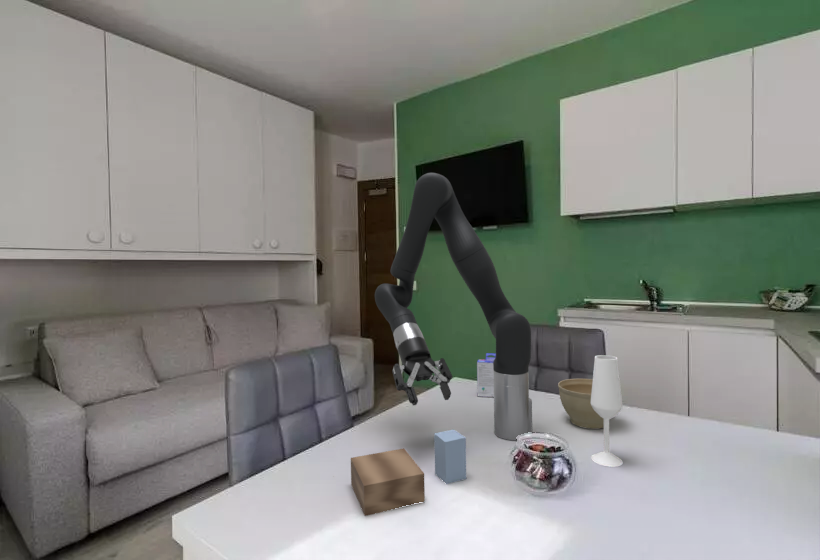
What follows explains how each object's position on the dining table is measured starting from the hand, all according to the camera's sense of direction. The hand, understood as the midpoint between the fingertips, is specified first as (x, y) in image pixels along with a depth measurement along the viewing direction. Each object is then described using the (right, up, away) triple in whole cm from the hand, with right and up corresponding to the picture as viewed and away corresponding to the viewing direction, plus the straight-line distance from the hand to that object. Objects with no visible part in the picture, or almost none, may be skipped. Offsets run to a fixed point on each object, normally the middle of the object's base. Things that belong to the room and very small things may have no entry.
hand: (432, 401), depth 97 cm
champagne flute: (+41, -14, -1) cm, 43 cm away
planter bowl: (+46, -13, +21) cm, 52 cm away
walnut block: (-10, -15, -13) cm, 22 cm away
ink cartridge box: (+24, -12, +48) cm, 55 cm away
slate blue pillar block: (+4, -14, -7) cm, 16 cm away
